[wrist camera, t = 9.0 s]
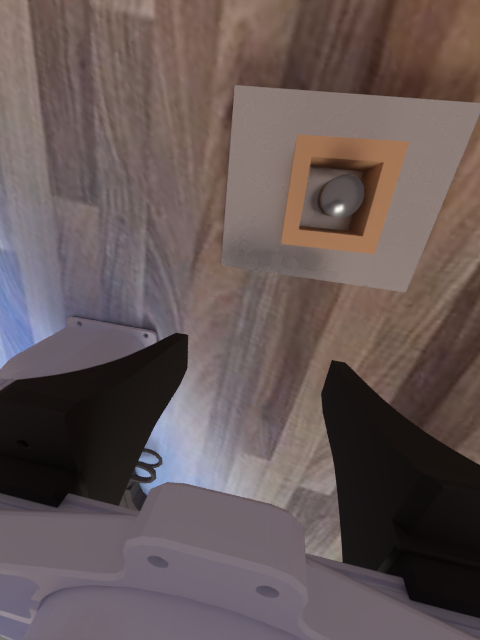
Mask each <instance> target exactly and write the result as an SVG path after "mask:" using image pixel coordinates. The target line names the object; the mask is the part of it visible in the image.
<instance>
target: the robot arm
mask: <svg viewBox="0 0 480 640" xmlns="http://www.w3.org/2000/svg"><path fill="white" fill-rule="evenodd" d="M66 322H67V327H66V328H64V329H62V330H60V331H59V332H57V333H55V334H53V335H51V336H50V337H48V338H46V339H44V340H42V341H41V342H39V343H37V344H35V345H33V346H32V347H30V348H28V349H26V350H24V351H23V352H21V353H19V354H17V355H16V356H14V357H13V358H11V359H10V360H9V361H8V362H7V363H6V364H5V365H4V366H3V367H2V368H1V370H0V636H2V637H4V638H7V639H9V640H480V465H479V464H477V463H475V462H473V461H472V460H470V459H468V458H466V457H465V456H463V455H461V454H459V453H458V452H456V451H454V450H453V449H451V448H449V447H448V446H446V445H444V444H443V443H441V442H440V441H438V440H436V439H435V438H433V437H432V436H430V435H429V434H427V433H426V432H424V431H423V430H421V429H420V428H419V427H417V426H416V425H414V424H413V423H412V422H410V421H409V420H408V419H406V418H405V417H404V416H403V415H401V414H400V413H399V412H397V411H396V410H395V409H394V408H393V407H391V406H390V405H389V404H388V403H387V402H386V401H384V400H383V399H382V398H381V397H380V396H379V395H378V394H377V393H376V392H375V391H374V390H372V389H371V388H370V387H369V386H368V385H367V384H366V383H365V382H364V381H363V380H362V379H361V378H360V377H359V376H358V375H357V374H356V373H355V372H354V371H353V370H352V369H351V368H350V367H349V366H348V365H347V364H346V363H345V362H339V361H333V360H332V361H331V365H330V368H329V371H328V374H327V377H326V380H325V383H324V387H323V390H322V393H321V396H322V409H323V415H324V420H325V425H326V429H327V434H328V438H329V443H330V447H331V451H332V456H333V461H334V467H335V476H336V484H337V493H338V504H339V514H340V527H341V541H342V558H343V563H342V562H338V561H334V560H330V559H326V558H322V557H318V556H314V555H310V554H306V553H305V540H304V528H303V526H302V524H301V523H300V522H299V521H298V520H297V519H296V518H295V517H294V516H293V515H292V514H291V513H290V512H289V511H287V510H284V509H282V508H279V507H277V506H274V505H272V504H269V503H265V502H260V501H256V500H252V499H248V498H244V497H239V496H235V495H231V494H227V493H222V492H218V491H214V490H210V489H206V488H201V487H197V486H193V485H189V484H185V483H170V482H167V483H164V484H162V485H160V486H157V487H155V488H152V489H150V492H149V494H148V496H147V498H146V500H145V502H144V504H143V506H142V509H141V511H136V510H132V509H128V508H124V507H121V506H119V504H120V502H121V499H122V497H123V495H124V492H125V490H126V487H127V485H128V483H129V480H130V478H131V476H132V474H133V471H134V469H135V467H136V464H137V462H138V460H139V458H140V456H141V453H142V451H143V449H144V447H145V445H146V443H147V441H148V439H149V437H150V435H151V432H152V430H153V428H154V426H155V425H156V423H157V421H158V419H159V418H160V416H161V414H162V413H163V411H164V410H165V408H166V406H167V405H168V403H169V402H170V400H171V398H172V397H173V395H174V394H175V392H176V390H177V389H178V387H179V385H180V384H181V381H182V379H183V377H184V375H185V372H186V370H187V363H188V335H186V334H180V333H175V334H173V335H171V336H168V337H166V338H164V339H162V340H160V341H158V342H157V334H156V332H154V331H152V330H146V329H140V328H135V327H129V326H124V325H118V324H112V323H107V322H101V321H95V320H90V319H84V318H78V317H73V316H70V317H68V318H67V319H66ZM80 322H81V323H82V324H81V323H80ZM145 333H146V334H147V335H148V336H146V334H145Z"/></svg>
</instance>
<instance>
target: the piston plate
mask: <svg viewBox="0 0 480 640" xmlns="http://www.w3.org/2000/svg"><path fill="white" fill-rule="evenodd" d="M479 114H480V103H472V102H458V101H445V100H431V99H417V98H404V97H390V96H377V95H363V94H349V93H336V92H322V91H308V90H295V89H281V88H267V87H254V86H240V85H235V89H234V102H233V116H232V129H231V142H230V155H229V168H228V182H227V195H226V208H225V221H224V234H223V248H222V261H221V265H222V266H229V267H236V268H243V269H249V270H256V271H263V272H270V273H277V274H284V275H291V276H297V277H304V278H311V279H318V280H325V281H332V282H338V283H345V284H352V285H359V286H366V287H373V288H379V289H386V290H393V291H400V292H406V291H407V288H408V286H409V284H410V281H411V279H412V276H413V274H414V271H415V269H416V267H417V264H418V262H419V259H420V257H421V255H422V252H423V250H424V247H425V245H426V242H427V240H428V238H429V235H430V233H431V230H432V228H433V226H434V223H435V221H436V218H437V216H438V213H439V211H440V209H441V206H442V204H443V201H444V199H445V197H446V194H447V192H448V189H449V187H450V184H451V182H452V180H453V177H454V175H455V172H456V170H457V168H458V165H459V163H460V160H461V158H462V155H463V153H464V151H465V148H466V146H467V143H468V141H469V139H470V136H471V134H472V131H473V129H474V126H475V124H476V122H477V119H478V117H479ZM297 134H298V135H314V136H330V137H345V138H361V139H377V140H392V141H408V142H409V145H408V148H407V151H406V155H405V158H404V161H403V164H402V168H401V171H400V174H399V177H398V180H397V184H396V187H395V190H394V193H393V197H392V200H391V203H390V206H389V209H388V213H387V216H386V219H385V222H384V225H383V229H382V232H381V235H380V238H379V242H378V245H377V248H376V251H375V254H367V253H358V252H349V251H340V250H331V249H322V248H313V247H304V246H295V245H286V244H281V237H282V230H283V223H284V217H285V210H286V203H287V197H288V190H289V183H290V177H291V170H292V163H293V157H294V150H295V144H296V139H297ZM362 175H363V171H356V170H343V169H330V168H317V167H310V169H309V175H308V180H307V186H306V192H305V197H304V203H303V209H302V214H301V220H300V226H306V227H316V228H326V229H335V230H345V231H348V230H349V226H350V222H351V218H352V214H353V213H354V212H355V211H356V210H357V209H358V208H359V207H360V205H361V204H362V201H363V198H364V186H363V184H362V182H361V179H362Z"/></svg>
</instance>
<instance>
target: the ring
mask: <svg viewBox="0 0 480 640" xmlns="http://www.w3.org/2000/svg"><path fill="white" fill-rule="evenodd" d="M408 145H409V142H408V141H392V140H377V139H361V138H345V137H330V136H314V135H298V134H297V139H296V144H295V150H294V157H293V163H292V170H291V177H290V183H289V190H288V197H287V203H286V210H285V217H284V223H283V230H282V237H281V244H286V245H295V246H304V247H313V248H322V249H331V250H340V251H349V252H358V253H367V254H375V251H376V248H377V245H378V242H379V238H380V235H381V232H382V229H383V225H384V222H385V219H386V216H387V213H388V209H389V206H390V203H391V200H392V197H393V193H394V190H395V187H396V184H397V180H398V177H399V174H400V171H401V168H402V164H403V161H404V158H405V155H406V151H407V148H408ZM310 167H317V168H330V169H343V170H356V171H363V175H362V179H361V182H362V184H363V186H364V198H363V201H362V204H361V205H360V207H359V208H358V209H357V210H356V211H355V212H354V213H353V214H352V218H351V222H350V226H349V230H348V231H345V230H335V229H326V228H316V227H306V226H300V220H301V214H302V209H303V203H304V197H305V192H306V186H307V180H308V175H309V169H310Z"/></svg>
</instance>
